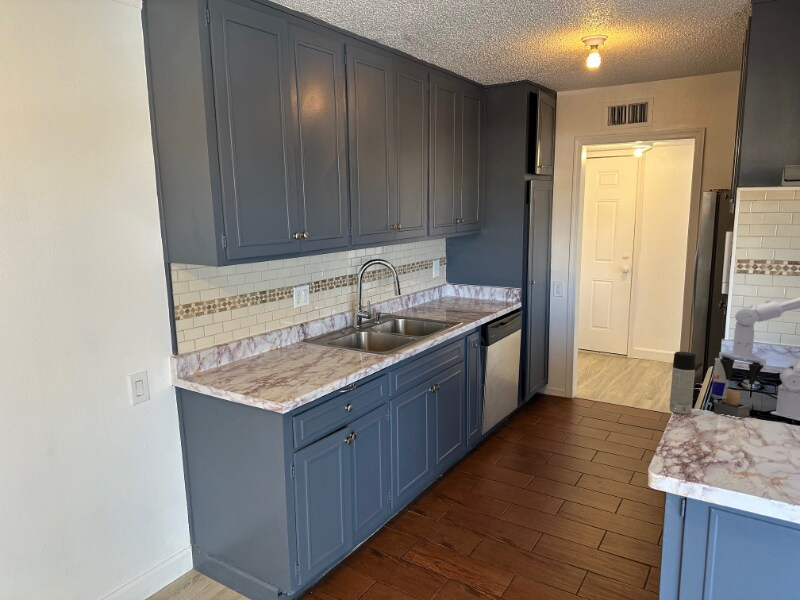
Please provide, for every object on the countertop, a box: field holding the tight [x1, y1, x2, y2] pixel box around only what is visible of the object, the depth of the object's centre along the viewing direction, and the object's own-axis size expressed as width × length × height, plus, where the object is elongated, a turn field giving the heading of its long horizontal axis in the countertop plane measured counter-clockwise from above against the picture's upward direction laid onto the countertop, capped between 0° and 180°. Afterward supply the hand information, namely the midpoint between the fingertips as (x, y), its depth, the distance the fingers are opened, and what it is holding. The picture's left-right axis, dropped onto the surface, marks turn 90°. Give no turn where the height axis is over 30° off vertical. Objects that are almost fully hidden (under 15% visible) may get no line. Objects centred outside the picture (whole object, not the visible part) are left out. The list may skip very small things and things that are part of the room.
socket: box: [713, 400, 751, 418], centre depth 186 cm, size 8×8×4 cm
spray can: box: [669, 351, 697, 415], centre depth 187 cm, size 7×7×20 cm
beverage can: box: [711, 357, 730, 400], centre depth 206 cm, size 5×5×15 cm
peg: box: [724, 389, 741, 407], centre depth 186 cm, size 4×4×8 cm
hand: (739, 381), depth 193 cm, fingers open, 7 cm apart
